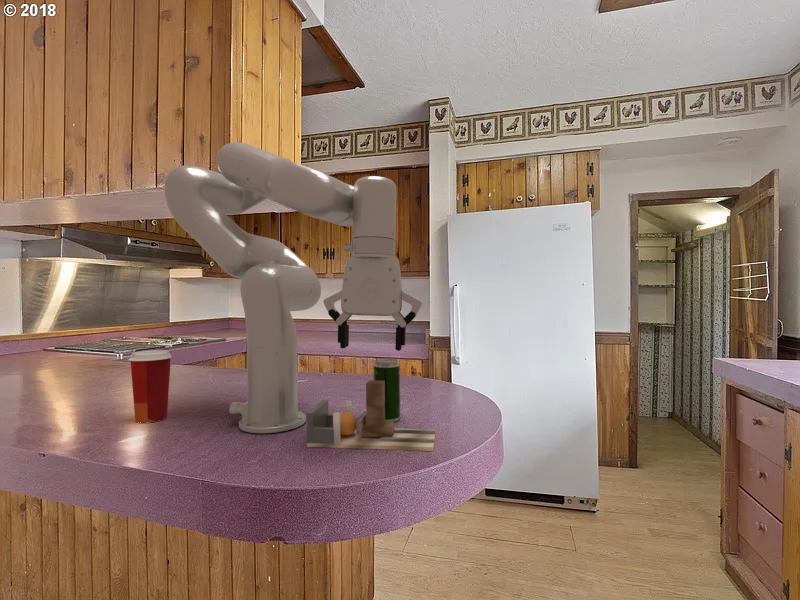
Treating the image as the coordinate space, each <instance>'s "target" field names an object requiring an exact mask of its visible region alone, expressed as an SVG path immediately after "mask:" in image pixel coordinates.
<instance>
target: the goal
mask: <svg viewBox="0 0 800 600" xmlns="http://www.w3.org/2000/svg"><path fill="white" fill-rule="evenodd" d="M352 403H353V402H352V400H351V399H350V400H349V399H347V400H345V401H344V409H345V410H344V412H349V413H352V414H353V412H352V411H353V410H352V409H353V408H352V407H353V405H352ZM340 414H341V412H340V411H335V412H332V413H329V399H322V400H321V401H320V402H319V403H317V404H316V405H315V406H314V407H312V408H311V409H310V410H309V411H307V412H306V414H305V415H306V444H307V443H316V444H340V443H341V435H340Z"/></svg>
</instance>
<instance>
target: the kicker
mask: <svg viewBox="0 0 800 600" xmlns="http://www.w3.org/2000/svg"><path fill="white" fill-rule="evenodd" d="M365 404H366V405H365V407H366V408H365V410H366V411H362V413H361V414H360V415H359V417H358V418H357V421H356V437H361V436H362V435H363V436H368V437H392V436H393V434H394V428H395V422H385V381H376V380H374V379H373V380H371V379H370V380H368V381H367V382H366V383H365Z"/></svg>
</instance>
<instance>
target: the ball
mask: <svg viewBox="0 0 800 600" xmlns="http://www.w3.org/2000/svg"><path fill="white" fill-rule="evenodd" d="M357 420H358V418H357V417H356V416H355V414H354V413H353V412H352V413H349V412H345V411H344V412H340V435H343V436H348V435H351V434H352V433H354V432H355V430H356V421H357Z"/></svg>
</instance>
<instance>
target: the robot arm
mask: <svg viewBox="0 0 800 600" xmlns="http://www.w3.org/2000/svg"><path fill="white" fill-rule="evenodd" d="M215 161H216V166H217V168H218V169H217V170H218V171H219V172H217V171H213V170H211V169H208V168H204V167H201V166H196V165H181V166H177V167H175V168H173V169H172V170H170V171H169V173H168V174H167V176H166V179H165V183H164V195H165V201H166V205H167V207H168V210H169V212H170V214H171V216H172V217H173V219H174V220H175V221H176V223H177V224H178V225H179V226H180V228H182V229H183V230H184V231H185V232H186V233H187V234H188V235H189V236H190V237H191V238H192V239H194V241H196V243H197V244H199V246H200V247H201V248H202V249H203V250H204V251H205V252H206V254H208V255H209V256H210V257H211V259H212V260H213V261H214V262H215V263H216V264H217V265H218V266H219V267H220V269H222V270H223V271H224V272H225V273H226V274H227V275H229V276H231V277H232V278H235V279H240V280H241V281H240V285H239V287H240V297H241V302H242V307H243V311H244V318H245V327H246V328H245V329H246V330H245V331H246V338H245V339H246V385H247V386H246V391H247V392H246V394H247V395H246V396H247V397H246V401H245V402H242V401H232V402H231V403H230V405H229V411H228V412H229V414H230V415H237V414H240V415H241V418H240V419H239V421H238V428H239V429H240V430H241V431H243V432H246V433H249V434H250V433H252V434H273V433H275V434H276V433H281V432H287V431H291V430H294V429H296V428H299V427H301V426H302V425H304V424H305V423H306V422H307V414H305V413H304V412H302V411H299V410H298V409H299V407H298V405H299V403H298V401H299V399H298V398H299V397H298V395H299V394H298V391H299V390H298V388H299V386H298V331H297V327H296V324H295V321H294V319H293V315H292V314H291V313H292V312H298V311H299V312H301V311H305V310H308V309H312V308H313V307H314V306H315V305H317V303H318V302H319V300H320V299H321V295H322V286H321V282H320V279H319V277H318V276H317V274H316V273H315V272H314V270H313V269H312V268H310V267H309V265H308V264H306V262H304V261H303V259H302V258H300V257H299V256H298V255H297V254H295V253H294V251H293V250H292V249H290V248H289V247H288V246H287V245H285V244H284V243H283V242H282V241H281V242H280V241H279V240H277V239H273V238H270V237H265V236H261V235H257V234H253V233H249V232H247V231H245V230H244V229H243V228H241V227H240V226H239V225H238V224H237V223H236V222H235V221H234V219H232V218H231V217H230V216H231V215H233V216H234V215H239V214H242V213H245V212H246V211H248V210H250V209H252V208H253V207H255V206H257V205H258V204H261V203H262V202H264V201H266V200H267V199H268V200H271V201H272V202H274V203H277V204H279V205H282V206H285V207H287V208H289V209H291V210H294V211H295V212H299V213H301V214H303V215H305V216H308V217H311V218H314V219H317V220H321V221H326V222H329V223H330V224H334V225H337V226H343V227H352V233H351V234H352V235H351V236H352V239H350V242H348V243H344V244H343V251H344V252H348V253H350V254H351V256H348V257H346V260H345V266H344V271H343V277H342V285H341V286H342V287H341V290H339V292H337V293H335V294H332V295H330V296H328V297H326V298H324V299H323V304H324V307H325V309H326V310H327V314H328V316H329V317H331V319H332V320H333V321H334V322H335V324H336V325H337V343H338V344H340V346H339V348H340V349H345V348H347V347H349V345H350V343H349V341H350V338H349V337H350V325H349V323H348V321H349V319H350V318H351V317H352V316H367V317H368V316H372V317H373V316H374V317H390V316H391V317H392V318H393V319H394V321H395V322H396V323H397V327H396V328H395V351H397V352H399V351H401V350H402V347H404V346H406V330H407V329H406V328H407V327H406V326H408V325H409V323H411V322H412V321H413V320H415V318H416V317H417V314H418V313H419V312H420V309H421V307H422V306H423V302H422V301H421V300H419V299H417V298H415V297H414V296H411V295H410V294H408V293H406V292H404V291H402V290H403V289H402V287H403V286H402V273H401V267H400V259H399V258H397V257H396V237H397V236H396V233H397V232H396V230H397V229H396V228H397V227H396V226H397V197H398V195H397V193H398V192H397V185H396V183H395V182H394V181H393V180H392V179H390V178H387V177H384V176H378V175H370V176H369V175H368V176H362V177H360V178H358V179H357V180H356V181H355V182H354V185H352V184H348V183H347V182H344V181H341V180H340V179H338V178H336V177H333V176H331V175H328V174H326V173H325V172H323V171H322V172H321V171H319V170H317V169H314V168H311V167H308V166H305V165H304V164H300V163H297V162H295V161H292V160H290V159H289V158H285V157H283V156H280V155H278V154H274V153H272V152H269V151H266V150H263V149H262V148H259V147H255V146H253V145H250V144H247V143H243V142H235V141H234V142H230V143H226V144H225V145H223V146H221V148H220V149H219V150H218V152H217V154H216V159H215ZM228 215H229V216H228ZM339 301H341V302H340V308H341V312H342V313H340V312H339V311H338V310H337V308H336V306H335V303H337V302H339ZM403 301H404V302H406V303H407V304H409V305H411V308H410V311H409V312H408V314H406V315H405V316H404V315H403V313H401V312H402V307H403Z"/></svg>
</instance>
